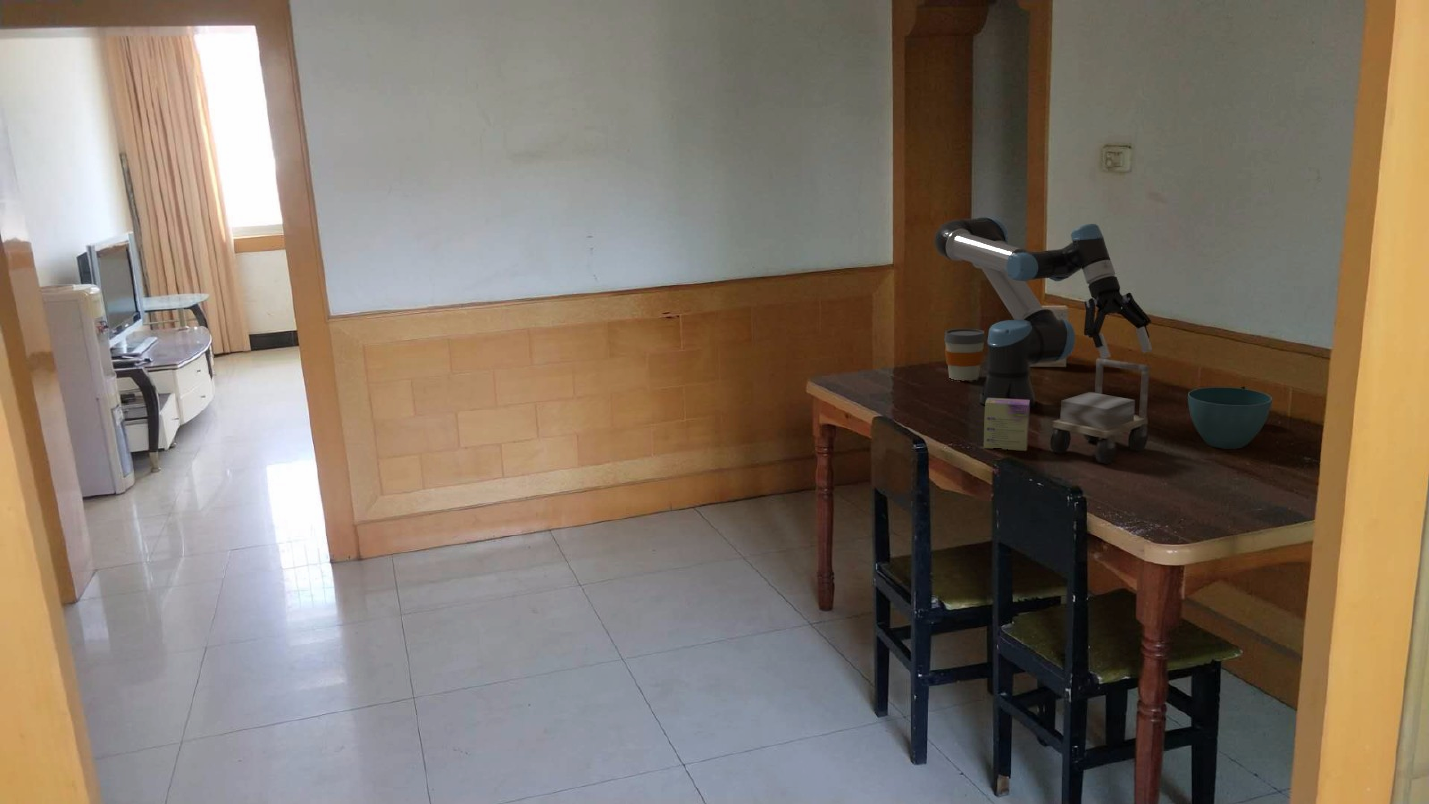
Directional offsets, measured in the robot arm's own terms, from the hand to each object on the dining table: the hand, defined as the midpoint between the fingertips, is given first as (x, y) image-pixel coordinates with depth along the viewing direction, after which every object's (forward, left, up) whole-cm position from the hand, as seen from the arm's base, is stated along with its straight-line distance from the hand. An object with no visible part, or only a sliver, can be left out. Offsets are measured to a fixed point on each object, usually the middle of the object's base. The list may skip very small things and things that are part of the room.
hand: (1127, 355), depth 276 cm
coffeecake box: (-56, +44, -18) cm, 74 cm away
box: (-7, -42, -18) cm, 46 cm away
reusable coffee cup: (-62, +11, -18) cm, 65 cm away
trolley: (+11, -30, -18) cm, 36 cm away
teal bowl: (+29, -4, -18) cm, 34 cm away
